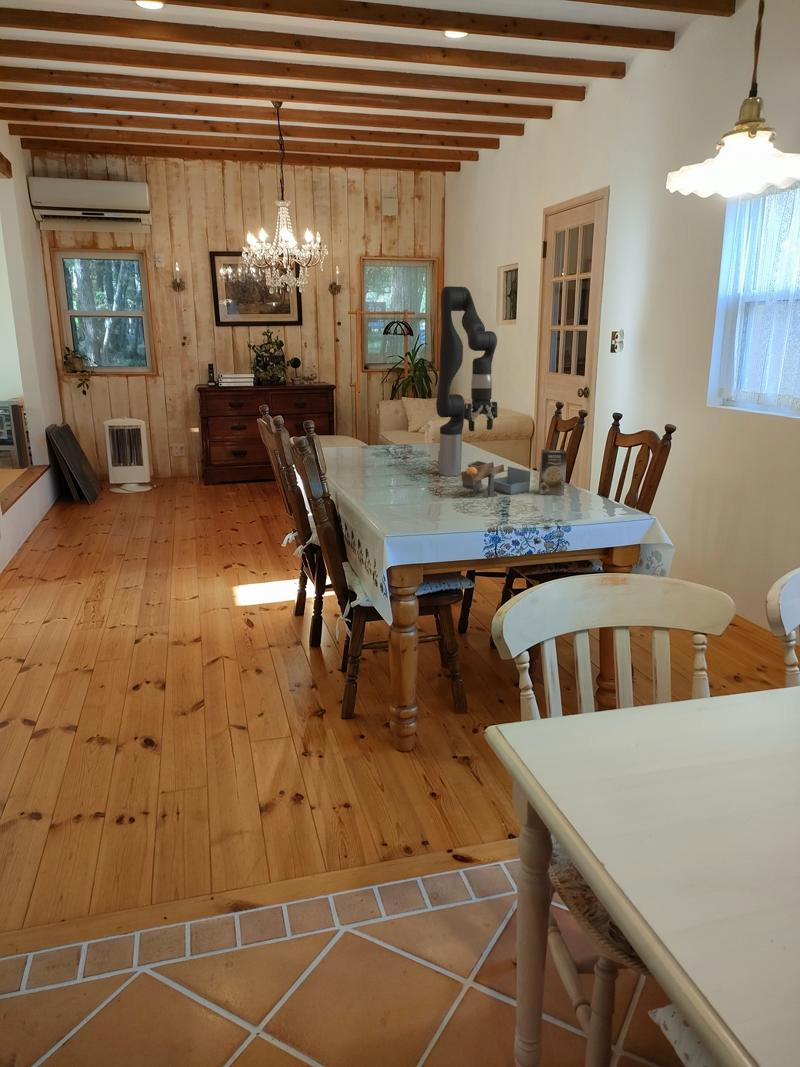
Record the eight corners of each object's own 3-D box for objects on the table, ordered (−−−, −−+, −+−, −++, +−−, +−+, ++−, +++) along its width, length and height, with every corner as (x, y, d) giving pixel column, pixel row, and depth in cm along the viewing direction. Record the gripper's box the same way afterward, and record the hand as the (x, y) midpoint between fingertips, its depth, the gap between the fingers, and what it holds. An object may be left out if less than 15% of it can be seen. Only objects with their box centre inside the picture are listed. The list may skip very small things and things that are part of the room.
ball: (464, 477, 273) (463, 467, 272) (472, 475, 275) (472, 465, 274) (471, 479, 270) (470, 468, 269) (479, 477, 272) (479, 466, 271)
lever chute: (473, 490, 270) (471, 475, 268) (448, 483, 282) (446, 468, 280) (505, 478, 277) (503, 464, 275) (479, 472, 290) (477, 458, 288)
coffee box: (539, 494, 277) (541, 452, 273) (538, 491, 283) (540, 449, 279) (564, 495, 276) (567, 452, 272) (562, 491, 283) (565, 449, 278)
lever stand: (487, 498, 272) (488, 474, 269) (469, 492, 280) (469, 470, 278) (497, 496, 274) (498, 473, 272) (479, 491, 283) (480, 468, 281)
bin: (510, 495, 277) (511, 473, 275) (489, 489, 287) (490, 468, 285) (529, 492, 282) (530, 471, 280) (508, 486, 292) (508, 466, 289)
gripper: (489, 385, 284) (488, 428, 288) (460, 386, 276) (459, 430, 280) (502, 386, 278) (501, 430, 282) (472, 387, 270) (472, 432, 274)
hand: (480, 430), depth 281 cm, fingers open, 8 cm apart
